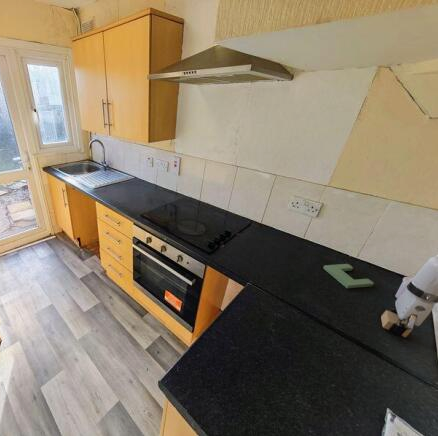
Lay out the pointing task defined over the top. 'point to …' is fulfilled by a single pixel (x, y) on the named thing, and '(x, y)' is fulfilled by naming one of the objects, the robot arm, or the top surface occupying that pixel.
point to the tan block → (392, 321)
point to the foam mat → (346, 276)
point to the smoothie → (403, 286)
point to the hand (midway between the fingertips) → (393, 325)
